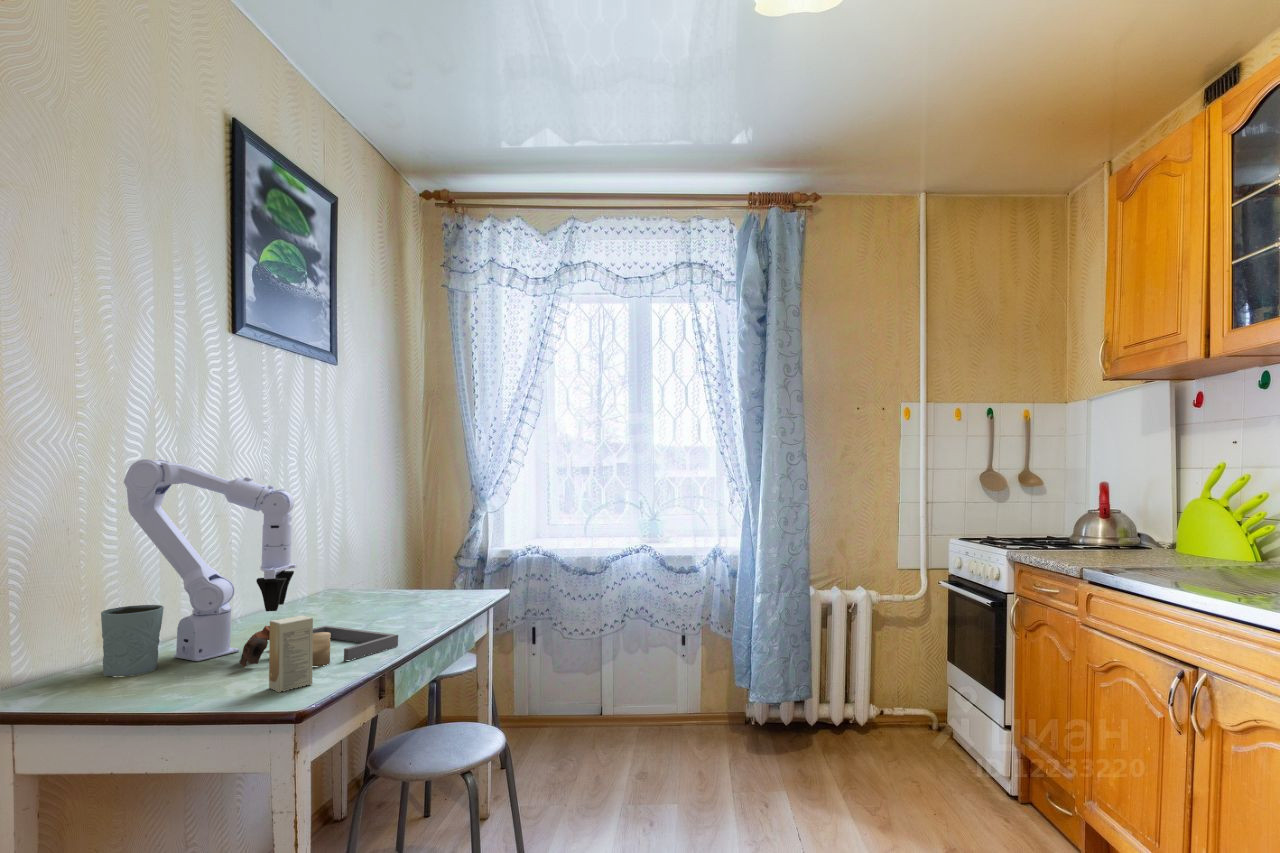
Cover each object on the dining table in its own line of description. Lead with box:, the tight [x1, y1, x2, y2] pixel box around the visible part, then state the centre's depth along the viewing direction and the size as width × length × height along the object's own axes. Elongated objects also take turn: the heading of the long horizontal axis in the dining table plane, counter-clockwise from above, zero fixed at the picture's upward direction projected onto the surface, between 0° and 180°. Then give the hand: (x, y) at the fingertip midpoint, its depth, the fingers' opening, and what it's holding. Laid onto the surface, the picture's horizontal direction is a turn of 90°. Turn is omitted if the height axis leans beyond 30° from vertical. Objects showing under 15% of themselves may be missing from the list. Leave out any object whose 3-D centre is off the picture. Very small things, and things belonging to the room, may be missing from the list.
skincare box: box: [268, 615, 314, 693], centre depth 130 cm, size 6×4×12 cm
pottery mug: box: [239, 625, 270, 668], centre depth 145 cm, size 12×10×8 cm
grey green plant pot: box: [100, 604, 165, 677], centre depth 140 cm, size 10×10×12 cm
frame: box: [313, 625, 399, 661], centre depth 158 cm, size 14×22×2 cm, turn 65°
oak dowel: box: [313, 632, 331, 667], centre depth 145 cm, size 4×4×6 cm
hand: (275, 607), depth 156 cm, fingers open, 7 cm apart
